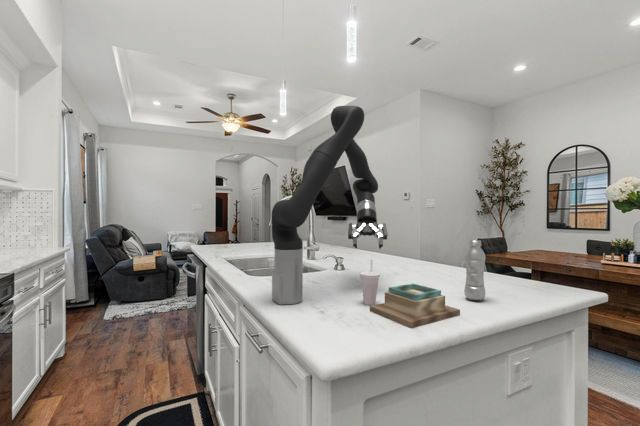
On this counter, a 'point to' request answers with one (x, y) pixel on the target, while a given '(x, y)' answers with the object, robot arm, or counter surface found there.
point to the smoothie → (369, 286)
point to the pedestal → (414, 305)
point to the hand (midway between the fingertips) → (368, 246)
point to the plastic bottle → (475, 271)
